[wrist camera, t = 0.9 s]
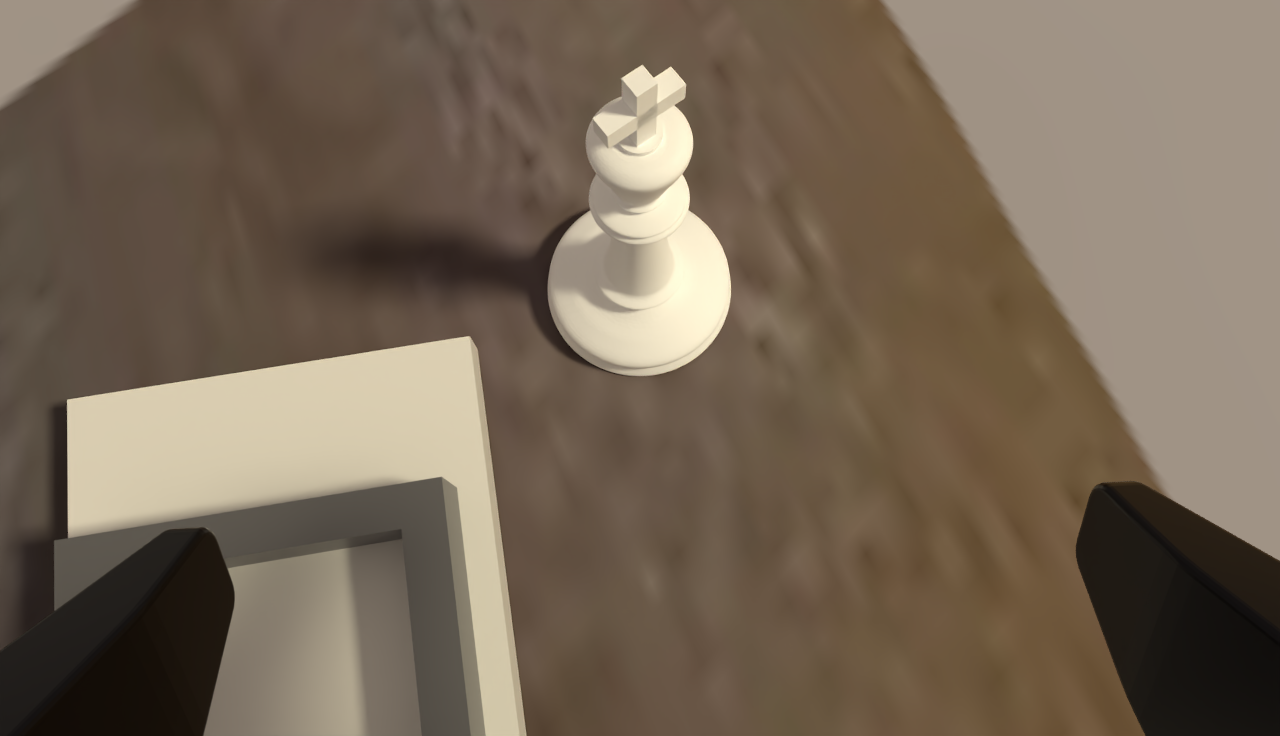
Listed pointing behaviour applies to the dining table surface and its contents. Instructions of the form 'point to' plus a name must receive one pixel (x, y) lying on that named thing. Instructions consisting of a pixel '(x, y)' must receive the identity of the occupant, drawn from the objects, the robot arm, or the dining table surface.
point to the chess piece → (639, 242)
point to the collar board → (319, 536)
